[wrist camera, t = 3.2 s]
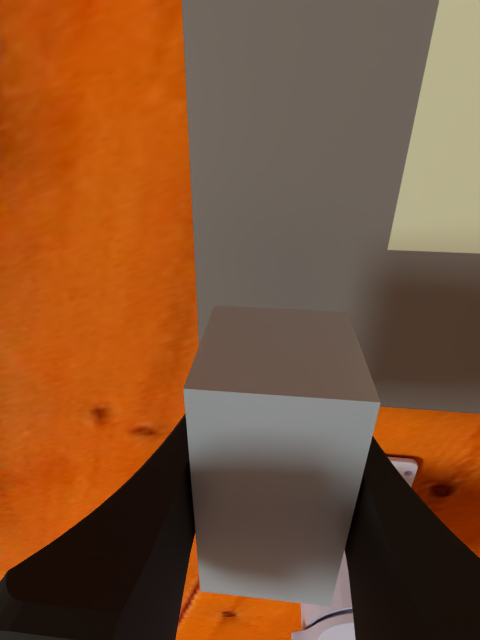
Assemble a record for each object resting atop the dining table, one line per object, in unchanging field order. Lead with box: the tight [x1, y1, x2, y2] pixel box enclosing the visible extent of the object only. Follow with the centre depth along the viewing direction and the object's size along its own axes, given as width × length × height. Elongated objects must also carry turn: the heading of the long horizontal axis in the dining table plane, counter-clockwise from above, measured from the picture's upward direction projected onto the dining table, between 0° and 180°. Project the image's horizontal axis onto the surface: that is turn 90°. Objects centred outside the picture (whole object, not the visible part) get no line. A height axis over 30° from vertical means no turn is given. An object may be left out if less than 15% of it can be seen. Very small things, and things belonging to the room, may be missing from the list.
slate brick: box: [184, 306, 381, 606], centre depth 11 cm, size 8×4×4 cm, turn 0°
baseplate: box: [182, 0, 480, 414], centre depth 17 cm, size 19×23×1 cm
